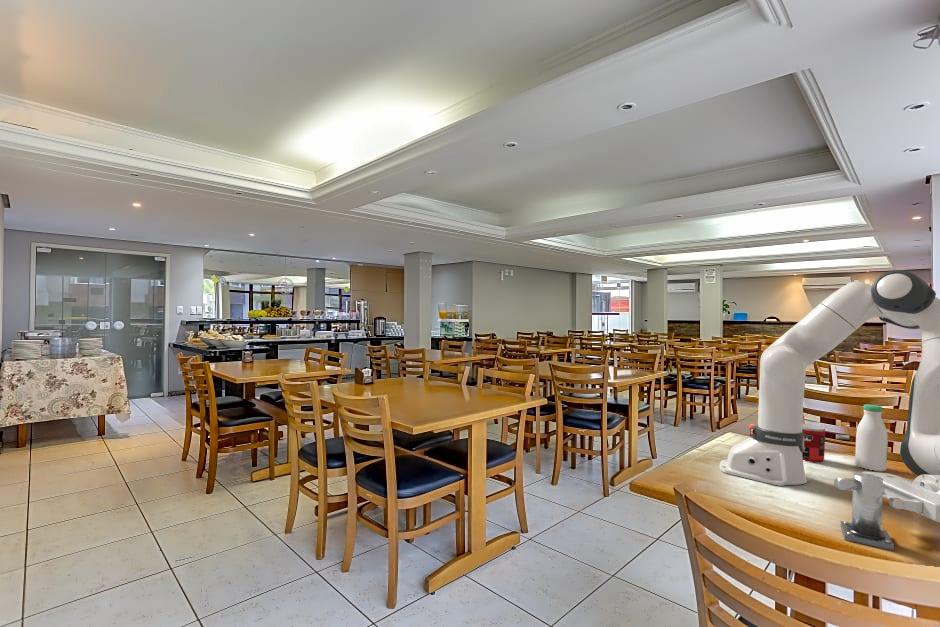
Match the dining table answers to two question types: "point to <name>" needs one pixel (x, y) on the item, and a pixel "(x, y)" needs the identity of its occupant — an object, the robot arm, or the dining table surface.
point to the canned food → (813, 443)
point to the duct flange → (867, 537)
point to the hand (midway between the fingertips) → (873, 494)
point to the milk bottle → (871, 440)
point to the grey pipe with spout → (864, 502)
